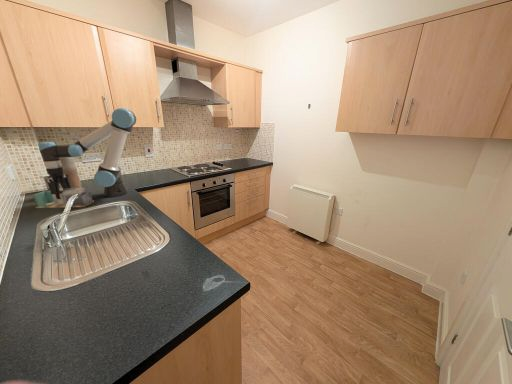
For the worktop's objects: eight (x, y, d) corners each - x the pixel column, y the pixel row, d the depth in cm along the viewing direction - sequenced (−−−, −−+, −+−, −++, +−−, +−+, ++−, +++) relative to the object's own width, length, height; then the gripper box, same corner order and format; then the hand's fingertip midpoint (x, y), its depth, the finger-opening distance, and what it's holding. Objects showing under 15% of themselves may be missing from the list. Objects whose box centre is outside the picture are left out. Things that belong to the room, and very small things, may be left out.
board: (94, 201, 140) (94, 200, 140) (84, 206, 131) (84, 206, 130) (49, 202, 138) (49, 201, 138) (35, 208, 129) (34, 207, 128)
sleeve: (92, 201, 139) (90, 191, 137) (84, 205, 131) (81, 195, 129) (77, 201, 138) (74, 191, 136) (68, 205, 131) (65, 195, 128)
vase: (80, 185, 174) (71, 153, 165) (83, 188, 168) (73, 155, 159) (65, 188, 167) (54, 155, 158) (67, 190, 161) (56, 156, 152)
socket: (56, 201, 138) (52, 190, 135) (45, 206, 130) (40, 194, 127) (48, 201, 137) (44, 190, 135) (36, 206, 129) (32, 195, 127)
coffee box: (56, 198, 144) (49, 177, 139) (49, 198, 146) (42, 176, 140) (70, 194, 153) (63, 174, 148) (63, 194, 154) (56, 173, 149)
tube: (88, 201, 137) (84, 187, 134) (83, 204, 133) (79, 190, 129) (61, 202, 136) (57, 188, 133) (55, 205, 131) (50, 190, 128)
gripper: (59, 164, 134) (70, 197, 142) (33, 170, 117) (46, 207, 125) (71, 164, 135) (81, 196, 142) (47, 170, 118) (59, 206, 125)
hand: (65, 201), depth 134 cm, fingers closed on tube, 5 cm apart
